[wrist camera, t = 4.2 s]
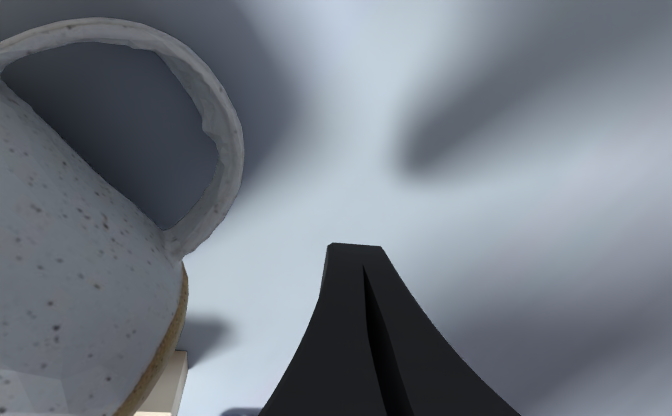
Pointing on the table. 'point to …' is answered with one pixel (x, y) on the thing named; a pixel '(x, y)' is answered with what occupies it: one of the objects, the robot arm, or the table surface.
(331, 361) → the robot arm
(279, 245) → the table surface
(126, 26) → the ceramic mug
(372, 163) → the table surface
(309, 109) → the table surface
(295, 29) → the table surface
